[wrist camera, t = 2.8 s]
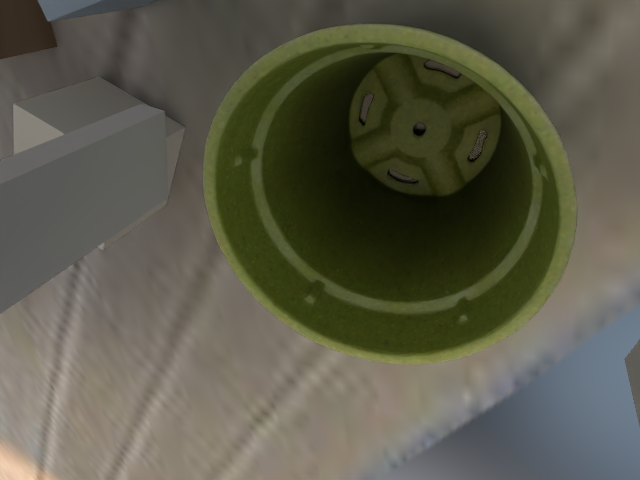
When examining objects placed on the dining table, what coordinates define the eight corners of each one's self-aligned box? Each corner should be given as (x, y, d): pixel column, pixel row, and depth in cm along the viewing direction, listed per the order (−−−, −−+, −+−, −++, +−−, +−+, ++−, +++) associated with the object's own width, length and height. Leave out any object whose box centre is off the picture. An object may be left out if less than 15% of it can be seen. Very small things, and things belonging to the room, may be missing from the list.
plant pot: (336, -38, 17) (209, -27, 10) (606, 30, 15) (677, 100, 8) (296, 186, 22) (196, 294, 15) (493, 255, 21) (478, 411, 14)
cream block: (91, 158, 26) (14, 196, 22) (100, 76, 23) (13, 103, 19) (167, 203, 26) (103, 250, 22) (186, 126, 23) (116, 165, 19)
